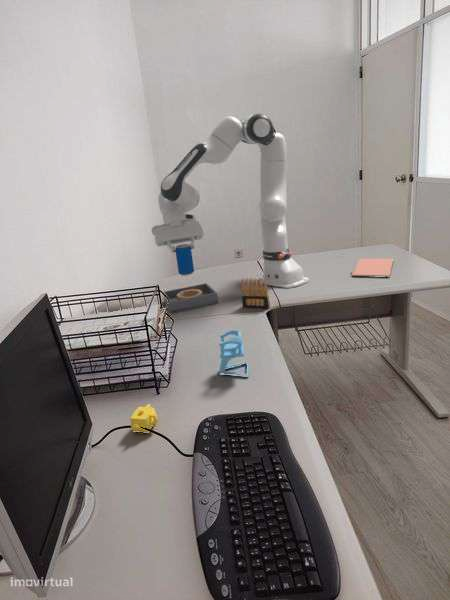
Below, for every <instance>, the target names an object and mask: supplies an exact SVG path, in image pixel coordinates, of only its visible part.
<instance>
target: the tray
mask: <svg viewBox="0 0 450 600" xmlns="http://www.w3.org/2000/svg"><path fill="white" fill-rule="evenodd" d="M163 293H164V294H165V295H166V296H167V297H168V299H169V304H168V307H167V308H168V310H169V311H170V313H171V314H174V313H179V312H182V311H187V310H192V309H198V308H202V307H207V306H210V305H211V306H212V305H215V304H219V295H218V292H217V291H216V290H215V289H214V288H213V287H212V286H211V285H210V284H208V283H207V282H205V283H200V284H195V285H190V286H186V287H184V286H183V287H180V288H175V289H169V290H164V291H162V294H163ZM163 300H164V303H165V305H166V304H167V299H166V298H165V297H164V296H163Z"/></svg>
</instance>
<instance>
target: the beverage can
mask: <svg viewBox="0 0 450 600" xmlns="http://www.w3.org/2000/svg"><path fill="white" fill-rule="evenodd" d="M175 249H176V252H175V257H176V258H175V259H176V263H177V271H178V274H179V275H180V276H182V277H183V276H185V277H186V276H190V275H192V274H193V273H194V272H195V268H194V260H193V254H192V252H193V251H192V249H191V247H190V244H189V243H183V244H178V245H176V246H175Z"/></svg>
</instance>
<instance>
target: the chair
mask: <svg viewBox="0 0 450 600" xmlns="http://www.w3.org/2000/svg"><path fill="white" fill-rule="evenodd" d="M230 335H233V336H235V337H229V338H226V339H224V338H225V337H227V336H230ZM242 336H243V335H242V331H240V330H239V331H238V330H229V331H225V333H221V334H220V335H219V337H220V340H221V342H219V343H218V345H219V347H220V350H219V351H220V353H219V358H220V359H221V361H220V366H219V373H224V374H237V375H248V365H249V363H248V364H247V363H246V362H247V361H248V360H246V361H241V362H240V361H239V362H237V363H233V364H229V365H228V363H229V362H230V360H233V359H236V358H242V357H245V354H244V353H245V352H244V349H245V348H244V343H243V342H242V341H243V338H242ZM242 363H246V364H247V369H246V368H245V369H246V373H243V372H235V371H234V372H233V371H229V370H225V368H228V367H232V366H236V365H239V364H242Z"/></svg>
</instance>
